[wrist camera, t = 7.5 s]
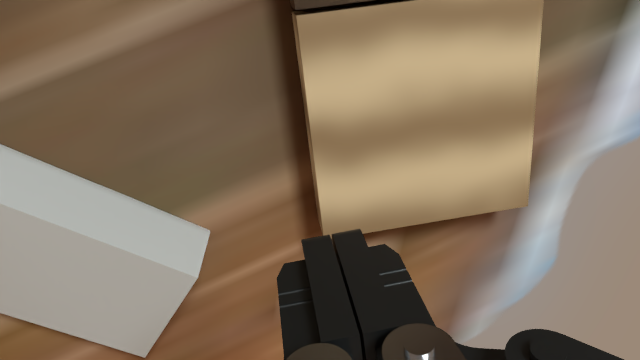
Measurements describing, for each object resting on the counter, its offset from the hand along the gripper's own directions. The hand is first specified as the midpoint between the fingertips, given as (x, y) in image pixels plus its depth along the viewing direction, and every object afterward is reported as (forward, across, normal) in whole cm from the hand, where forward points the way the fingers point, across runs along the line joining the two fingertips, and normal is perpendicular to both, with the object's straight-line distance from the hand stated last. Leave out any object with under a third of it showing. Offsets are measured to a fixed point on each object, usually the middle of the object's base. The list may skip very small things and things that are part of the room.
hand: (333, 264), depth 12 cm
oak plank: (+20, -8, +3) cm, 21 cm away
